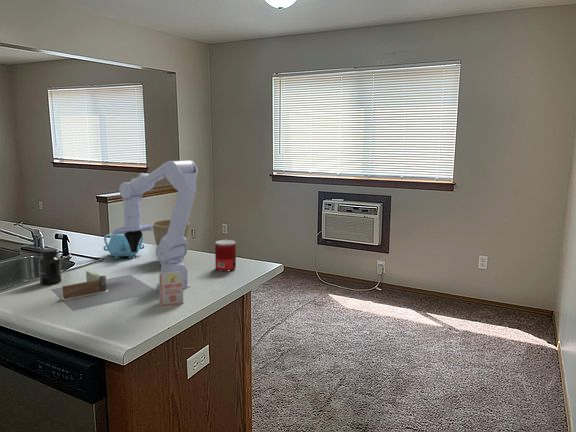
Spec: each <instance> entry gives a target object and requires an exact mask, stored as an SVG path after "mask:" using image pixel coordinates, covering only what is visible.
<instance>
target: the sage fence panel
mask: <svg viewBox="0 0 576 432" xmlns="http://www.w3.org/2000/svg"><path fill="white" fill-rule="evenodd" d="M85 276H86V282H88V281H94V280H99V276H100V275H99V274H97V273H96V272H93V271H92V270H90V269H89V270H85ZM99 283H100V280H99Z"/></svg>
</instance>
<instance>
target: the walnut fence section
mask: <svg viewBox="0 0 576 432" xmlns="http://www.w3.org/2000/svg"><path fill="white" fill-rule="evenodd" d="M106 279H107V277H106V275H99V280H100V283H99V280H94V281H88V282H87V281H84V282H79V283H71V284H68V285H67V284H66V285H62V286H61V287H62V288H63V299H68V298H73V297H78V296H83V295H88V294H93V293H98V292H105V291H107V290H106Z"/></svg>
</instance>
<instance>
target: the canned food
mask: <svg viewBox="0 0 576 432" xmlns="http://www.w3.org/2000/svg"><path fill="white" fill-rule="evenodd" d="M214 246H215V247H214V248H215V249H214V253H215V255H214V256H215V262H214V263H215V265H214V266H215V269H217V270H216V271H218V270H222V271H221V272H224V271H226V272H229V271H228V270H233V269H235V270H236V267H237V261H236V260H237V244H236V241H235V240H233V239H220V240H216V241H215V245H214ZM233 271H234V270H233Z"/></svg>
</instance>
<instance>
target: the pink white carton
mask: <svg viewBox="0 0 576 432" xmlns="http://www.w3.org/2000/svg"><path fill="white" fill-rule="evenodd" d="M158 279H159V280H158V283H159V285H158V287H159V288H158V289H159V290H158V293H159V305H160V307H165V306H168V307H169V306H175V305H183V304H184V288H183V280H182V271H179V272H168V273H161V272H160V273H159V277H158Z"/></svg>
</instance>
